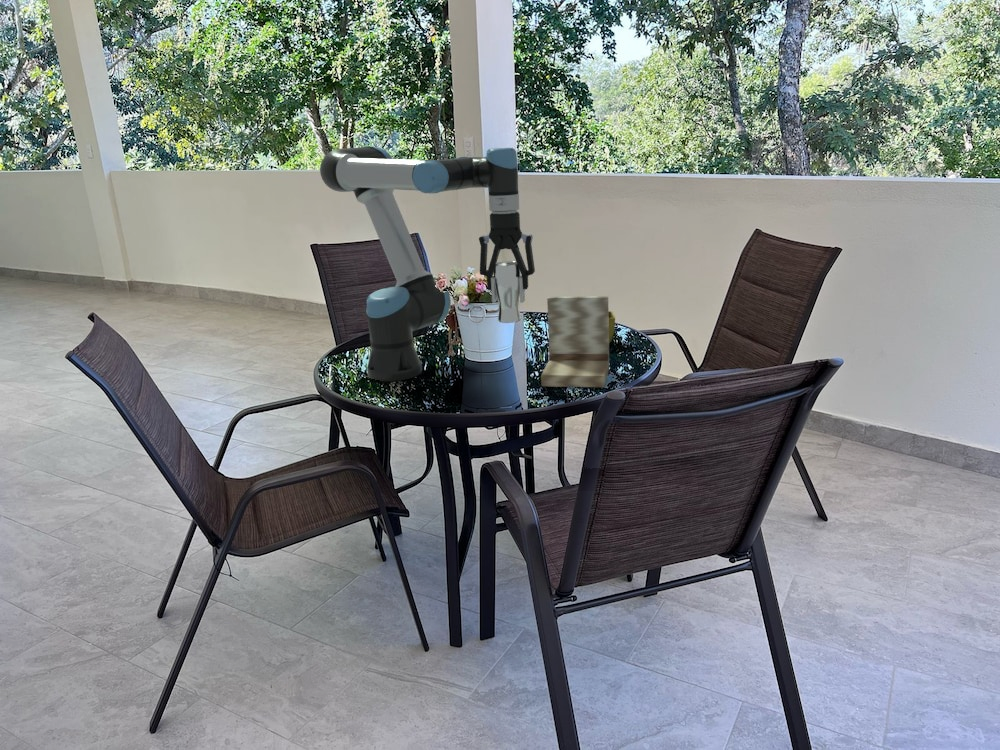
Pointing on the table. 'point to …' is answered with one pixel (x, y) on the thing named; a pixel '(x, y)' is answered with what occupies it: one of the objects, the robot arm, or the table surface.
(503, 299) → the beer glass
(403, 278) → the robot arm
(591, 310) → the beige brown l-shaped block
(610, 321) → the flower pot
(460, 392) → the table surface
